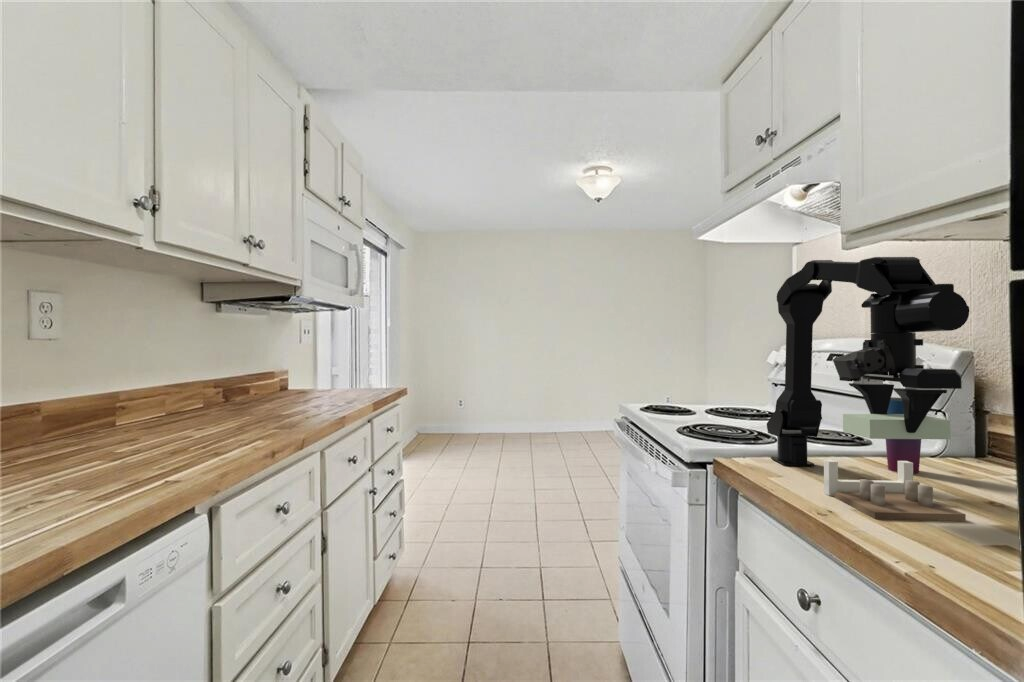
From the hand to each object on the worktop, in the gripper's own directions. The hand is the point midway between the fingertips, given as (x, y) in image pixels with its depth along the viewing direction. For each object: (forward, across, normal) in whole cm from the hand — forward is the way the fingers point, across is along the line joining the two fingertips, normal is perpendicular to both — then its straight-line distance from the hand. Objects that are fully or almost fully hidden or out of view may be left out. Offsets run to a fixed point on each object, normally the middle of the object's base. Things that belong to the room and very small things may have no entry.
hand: (894, 429), depth 77 cm
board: (+1, 0, 0) cm, 1 cm away
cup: (+13, -24, +19) cm, 33 cm away
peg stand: (+13, 0, 0) cm, 13 cm away
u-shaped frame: (+13, -6, 0) cm, 14 cm away
